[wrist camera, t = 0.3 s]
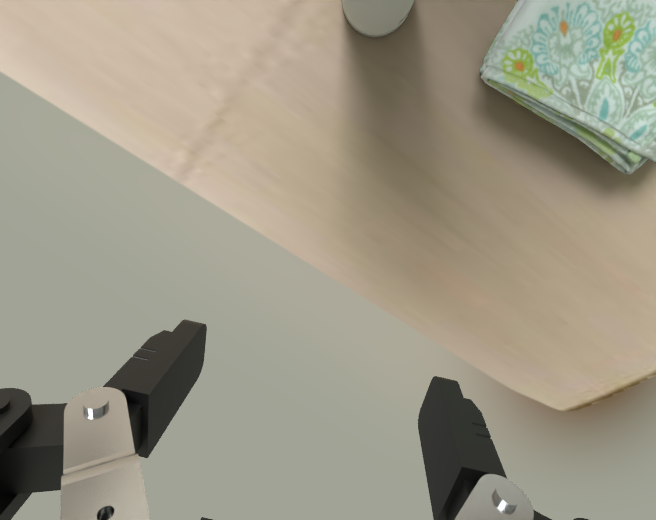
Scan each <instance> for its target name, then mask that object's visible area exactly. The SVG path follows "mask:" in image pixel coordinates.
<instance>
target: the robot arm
mask: <svg viewBox="0 0 656 520" xmlns="http://www.w3.org/2000/svg"><path fill="white" fill-rule="evenodd" d="M206 330H207V329H206V324H202V323H198V322H193V321H189V320H183V321H182V322H181V323H180V324H179V325H178V326H177V327H176V328H175V329H174V331H173V332H169V331H165V330H164V331H162V332H160V333H158V334H156V335H154V336H152V337H151V338H149V339H148V340H147V342H146V343H145V344H144V345H143V346H142V347H141V349H139V350H138V351H137V352H136V353H135V354H134V355H133V357H132V358H130V359H129V360H128V361H127V362H126V363H125V365H123V366H122V368H121V369H120V370H119V371H118V372H117V373H116V374H115V375H114V376H113V377H112V378H111V379H110V380H109V381H108V382H107V383H106V384H105V385H104V386H103V387H98V388H93V389H89V390H86V391H84V392H82V393H80V394H78V395H77V396H75V397H74V398H72V399H71V400H70V401H69V403H64V404H43V405H42V404H41V405H32V403H31V397H30V395H29V394H28V393H27V392H25V391H24V390H21V389H15V388H5V389H0V520H11V519H12V517H13V516H14V515H15V514H16V512H17V511H18V510H19V508H20V507H21V506H22V505H23V504H24V502H25V501H26V500H27V499H28V497H29V496H30V495H31V494H32V493H33V492H43V491H53V490H61V517H60V520H150V517H149V511H148V506H147V500H146V494H145V488H144V482H143V477H142V471H141V465H140V460H139V456H141V457H145V458H148V457H149V455H150V453H151V452H152V450H153V449H154V447H155V446H156V444H157V442H158V441H159V439H160V438H161V436H162V434H163V433H164V431H165V430H166V428H167V426H168V425H169V423H170V422H171V420H172V418H173V417H174V415H175V414H176V412H177V411H178V409H179V407H180V406H181V404H182V403H183V401H184V399H185V398H186V396H187V395H188V393H189V392H190V390H191V388H192V387H193V385H194V384H195V382H196V381H197V379H198V377H199V375H200V373H201V370H202V366H203V361H204V353H205V341H206ZM418 429H419V435H420V441H421V447H422V452H423V458H424V464H425V471H426V476H427V482H428V488H429V494H430V500H431V505H432V512H433V517H434V520H551V519H549V518H547V517H546V516H543V515H541V514H540V513H538V512H536V511H535V510H533V507H532V505H531V502H530V501H529V499H528V497H527V496H526V495H525V493H524V492H523V491H522V490H521V489H520V488H519V487H518V486H517V485H516V484H514V483H513V482H511V481H510V480H508V479H507V477H506V475H505V472H504V470H503V467H502V464H501V462H500V459H499V457H498V454H497V451H496V449H495V447H494V444H493V441H492V439H490V437H491V436H490V434H489V431H488V429H487V428H486V423H485V421H484V418H483V416H482V413H481V412H480V410H479V409H478V408H477V407H476V405H475V404H474V403H473V402H472V401H471V400H470V399H466V398H463V395H462V393H461V389H460V386H459V384H458V382H457V381H454V380H450V379H446V378H441V377H437V376H435V377H433V379H432V381H431V383H430V386H429V388H428V391H427V393H426V396H425V399H424V401H423V404H422V407H421V409H420V413H419V419H418ZM201 520H212V519H207V518H203V517H202V518H201ZM574 520H588V519H584V518H576V519H574Z"/></svg>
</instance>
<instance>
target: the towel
mask: <svg viewBox="0 0 656 520" xmlns="http://www.w3.org/2000/svg"><path fill="white" fill-rule="evenodd" d="M480 73H481V74H482V75H481V79H482V80H483V81H484V82H485V83H486V84H487V85H489V86H491V87H492V88H494V89H496V90H498V91H499V92H501V93H502V94H504V95H506V96H508V97H509V98H511V99H513V100H514V101H516V102H517V103H519V104H521V105H522V106H524V107H525V108H527V109H529V110H530V111H532V112H534V113H535V114H537V115H538V116H540V117H542V118H544V119H545V120H547V121H549V122H550V123H552V124H554V125H556V126H557V127H559V128H561V129H562V130H564V131H566V132H567V133H569V134H571V135H572V136H574V137H576V138H577V139H579V140H580V141H581V142H583V143H584V144H585V145H587V146H588V147H589V148H591V149H592V150H593V151H595V152H596V153H597V154H598V155H600V156H601V157H602V158H603V159H605V160H606V161H607V162H609V163H610V164H611V165H612V166H614V167H615V168H616V169H618V170H619V171H621V172H622V173H624V174H628V175H630V174H632V173H633V172H634V171H635V170H636V169H638V168H640V167H641V166H642V165H643V164H644V163H645V162H646V161H647V160H648V159H650V160H652V161H654V162H656V0H518V1H517V3H516V5H515V6H514V8H513V9H512V11H511V13H510V14H509V16H508V17H507V19H506V20H505V22H504V24H503V25H502V27H501V28H500V30H499V32H498V34H497V36H496V37H495V39H494V41H493V42H492V44H491V46H490V48H489V50H488V52H487V54H486V55H485V58H484V60H483V65H482V67H481V68H480Z"/></svg>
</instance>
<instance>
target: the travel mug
mask: <svg viewBox="0 0 656 520" xmlns="http://www.w3.org/2000/svg"><path fill="white" fill-rule="evenodd" d="M341 1H342V6H343V10H344V14H345V16H346V18H347V20H348V22H349V23H350V25H351V26H352V27H353V28H354V29H355V30H356V31H357V32H359V33H360V34H362V35H364V36H368V37H374V38H377V37H383V36H386V35H389V34H391V33H392V32H394V31H396V30H397V29H398V28H399V27H400V26H401V25H402V24H403V22H404V21H405V20H406V18H407V16H408V14H409V12H410V10H411V8H412V5H413V3H414V1H415V0H341Z"/></svg>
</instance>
